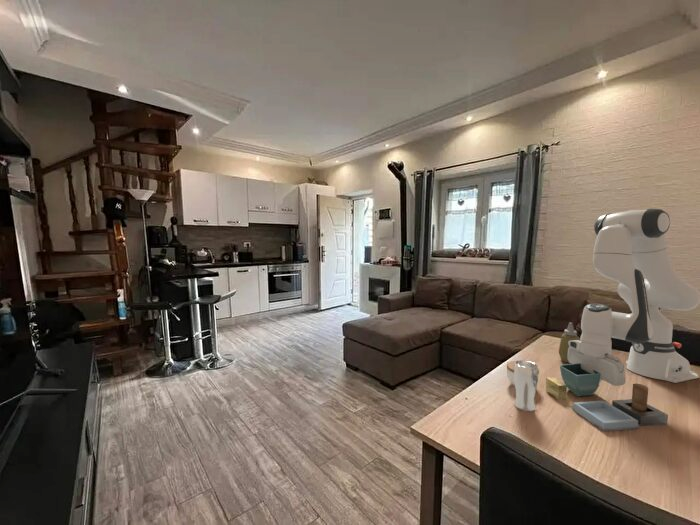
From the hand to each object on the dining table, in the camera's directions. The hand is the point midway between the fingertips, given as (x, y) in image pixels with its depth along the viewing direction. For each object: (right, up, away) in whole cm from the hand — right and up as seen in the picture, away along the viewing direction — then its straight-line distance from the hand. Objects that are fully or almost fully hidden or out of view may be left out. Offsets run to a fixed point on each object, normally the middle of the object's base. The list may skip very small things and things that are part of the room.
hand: (593, 385), depth 109 cm
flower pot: (-5, -3, 0) cm, 6 cm away
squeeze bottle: (+11, 0, +27) cm, 29 cm away
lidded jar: (-23, -3, +5) cm, 24 cm away
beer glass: (-30, -4, -8) cm, 31 cm away
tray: (-9, -4, -15) cm, 19 cm away
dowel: (+3, -4, -14) cm, 15 cm away
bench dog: (-14, -3, -1) cm, 15 cm away
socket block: (+3, -4, -14) cm, 15 cm away
